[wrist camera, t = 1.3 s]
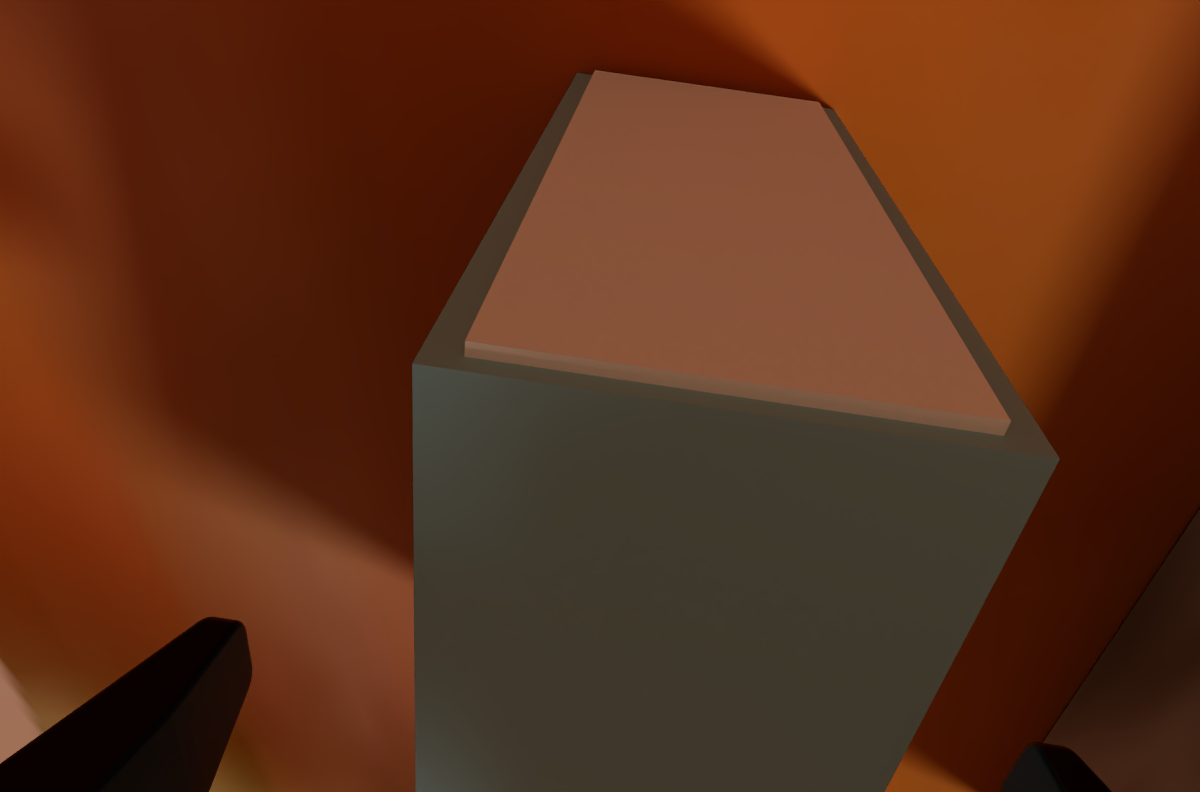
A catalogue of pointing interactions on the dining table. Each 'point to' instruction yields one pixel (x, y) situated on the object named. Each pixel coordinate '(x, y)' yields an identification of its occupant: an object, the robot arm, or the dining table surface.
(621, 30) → the dining table surface
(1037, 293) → the dining table surface
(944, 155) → the dining table surface
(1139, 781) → the book rack
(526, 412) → the teal book
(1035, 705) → the dining table surface
